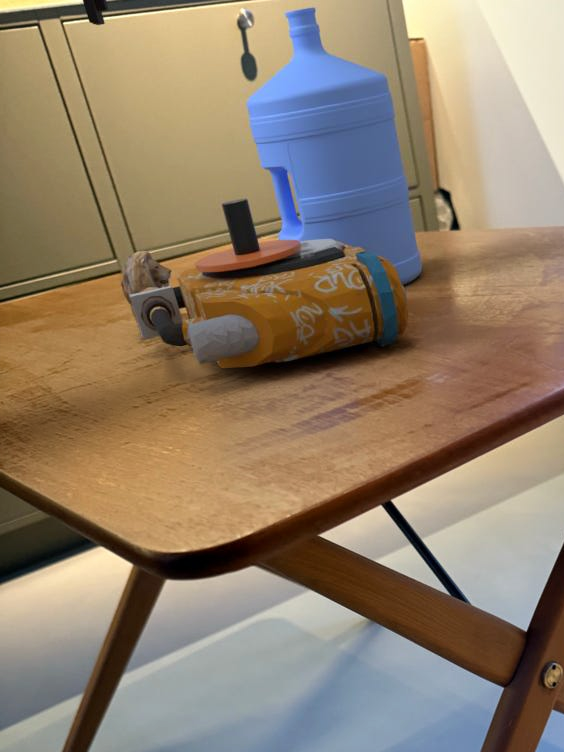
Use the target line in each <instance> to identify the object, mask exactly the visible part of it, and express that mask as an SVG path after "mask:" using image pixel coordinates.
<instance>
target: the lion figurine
mask: <svg viewBox="0 0 564 752" xmlns="http://www.w3.org/2000/svg"><path fill="white" fill-rule="evenodd" d="M171 276H172V269H171V268H168V267H167V266H164V265H162V264H160V263H159V261H157V260H154V259H153V257H152V253H150V252H149V251H146V250H141V251H136V252H134V253H133V254H131V255H130V256H129V257H128V259H126V260H125V263H124V265H123V268H122V277H121V280H120V285H121V291H122V294H123V296H124V298H125V299H126V301H127V303H128V304H129V306H130V310H131V311H130V312H131V314H132V316H133V318H134V321H135V322H136V326H137V328H138V329H139V334H138V337H139V339H140V340H144V339H143V337H142V334H141V330H140V327H139V324H138V321H137V318H136V315H135V311H134V308H133V305H132V302H131V299H130V295H131V294H136V293H140V292H142V291H143V290H145V289H147V288H149V287H157V288H163V287H168V286H170V281H169V279H171Z"/></svg>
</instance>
